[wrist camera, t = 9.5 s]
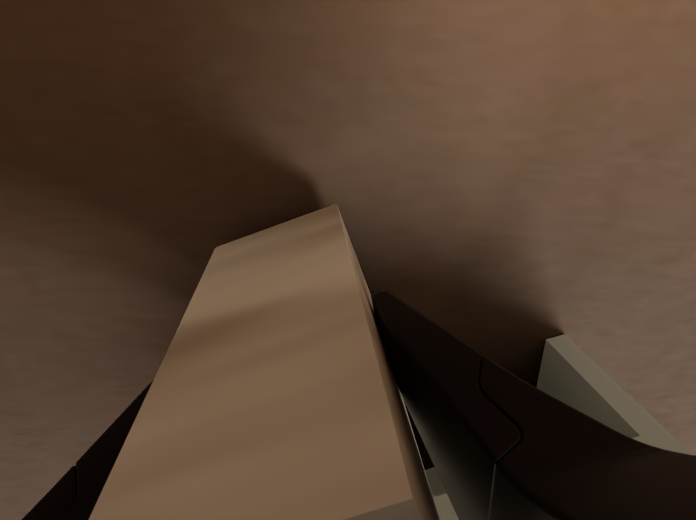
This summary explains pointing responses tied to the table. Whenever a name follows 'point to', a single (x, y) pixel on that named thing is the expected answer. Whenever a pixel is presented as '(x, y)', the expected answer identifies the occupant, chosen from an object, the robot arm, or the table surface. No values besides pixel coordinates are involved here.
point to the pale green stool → (581, 405)
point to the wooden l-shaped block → (274, 396)
